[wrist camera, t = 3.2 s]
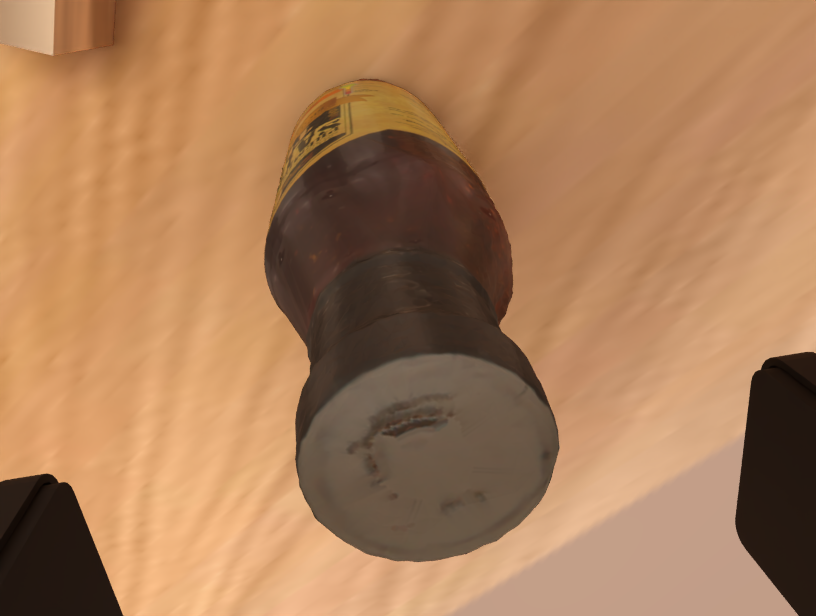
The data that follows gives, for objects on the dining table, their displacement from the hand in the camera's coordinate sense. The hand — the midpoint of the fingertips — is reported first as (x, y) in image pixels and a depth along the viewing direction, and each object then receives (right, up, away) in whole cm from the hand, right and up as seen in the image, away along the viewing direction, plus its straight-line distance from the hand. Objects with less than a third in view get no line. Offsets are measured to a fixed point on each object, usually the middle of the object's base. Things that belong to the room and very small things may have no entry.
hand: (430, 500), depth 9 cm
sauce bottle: (-2, +9, +19) cm, 21 cm away
